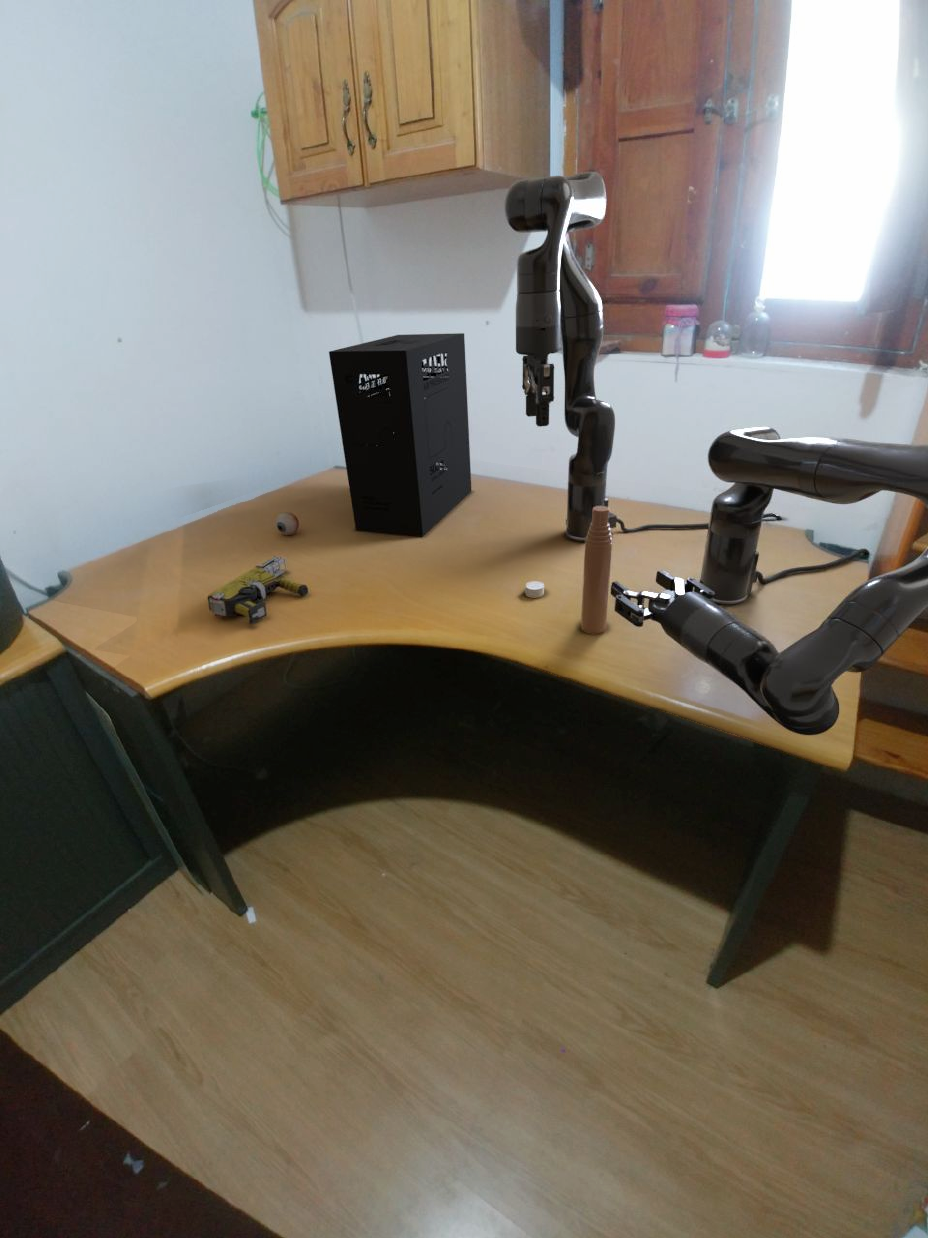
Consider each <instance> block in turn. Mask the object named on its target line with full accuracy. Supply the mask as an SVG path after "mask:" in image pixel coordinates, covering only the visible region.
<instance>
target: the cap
mask: <svg viewBox="0 0 928 1238" xmlns="http://www.w3.org/2000/svg"><path fill="white" fill-rule="evenodd" d="M525 595H526V596H527V597H529V598H533V599H535V598H537V599H538V598H541V597H543V596H544V595H545V584H544V583H543V582H542V581H536V580H535V581H534V580H533V581H529V582H527V583H526V584H525Z"/></svg>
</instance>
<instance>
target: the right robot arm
mask: <svg viewBox="0 0 928 1238" xmlns="http://www.w3.org/2000/svg"><path fill="white" fill-rule="evenodd" d="M707 463H708V466H709V469H710V471H711V472H712V474H713V475H714V476H715V478H717V479H719V480H720V481H723V482H725V483H729V484H730V483H733V485H731V486H730V487H729V488H728V489H726V490H725V491H723V492H721V493H719V494H717V495H716V497H714V498H713V500H712V504H711V508H710V515H709V521H708V523H709V527H707V535H706V540H705V546H704V552H703V559H702V564H701V570H700V575H699V578H698V579H699V580H697V579H696V578H695V577H691V576H690V577H687V578H686V580H684V579H683V578H681V577H674V576H673V575H672V574H670V573H668V572H666V571H664V570H662V569H661V570H657V571H656V575H655V582H656V584H657V585H658V586H660V587H662V588H663V589H665V590H663V591H660V592H650V591H646V590H641V591H640V592H636V591H632V590H630V589H629V588H627V587H626V586H625V585H623V584H622V583H620V581H618V580H615V581H612V582H611V585H610V595H611V596H612V597H614V600H615V601H614V612H615V613H617V614H618V615H620V616H621V617H622V618H623V619H625V620H626V621H628V622H629V623H630V624H631V625H633V626H635V627H637V628H641V627H643V626H644V622H645V621H648V620H651V621H653V622H657V623H658V624H659V625H660V626H661V628H662V630H663V631H664V633H665V634H666V635H667V636H668V637H669V638H670V639H672V640H673V641H674V642H676V643H677V644H678V645H680V646H681V647H682V648H684V649H685V651H688V653H690V654H691V655H692V656H694V657H695V658H696V659H698V660H700V661H701V662H704V663H705V664H707V665H709V666H710V667H711V668H712V669H714V670H715V671H716V672H718V673H720V674H721V676H723V677H725V678H726V679H727V680H729V682H732V683H733V684H734V685H736V686H738V687H739V688H740V689H741V690H742V691H743V692H744V693H745V694H746V695H747V696H748V697H749V698H750V699H751V700H752V701H753V702H754V703H755V704H756V705H758V707H760V709H761V710H763V711H764V712H765V713H766V714H767V715H768V716H769V717H770V718H771V719H772V720H774V721H775V722H776V723H777V724H778V725H780V726H781V727H783V728H784V729H786V730H788V731H789V732H792V733H794V734H798V735H801V736H817V735H822V734H824V733H826V732H827V731H830V729H832V728H833V727H834V726H835V724H836V722H837V721H838V718H839V716H840V703H839V699H838V697H837V695H836V693H835V690H834V688H833V686H832V685H833V684H834V683H835V681H836V680H837V679H838V678H840V676H842V675H843V674H844V673H846V672H848V673H854V674H855V673H858V674H859V673H863V672H865V671H868V670H869V669H870V668H872V667H873V665H875V664H876V663H877V662H878V661H879V659H881V658H882V656H884V655H885V653H887V651H888V650H889V649H890V648H891V647H892V646H893V645H894V643H895V642H897V640H898V639H899V638H900V637H901V636H902V635H903V634H904V632H905V631H906V630H907V629H908V628H909V627H910V626H911V625H912V624H913V623H914V622H915V621H916V620H917V619H918V618H919V617H920V616H921V615H922V614H924V613H925V611H926V610H927V609H928V546H927V547H926V548H925V549H924V551H923V552H922V553H921V554H920V555H919V556H918V557H917V558H915V559H914V560H913V561H912V562H909V563H907V564H906V565H904V566H902V567H899V568H897V569H895V570H891V571H888V572H885V573H883V574H880V575H878V576H877V575H876V576H874V577H873V578H871V579H868V580H867V581H865V582H862V583H861V584H860V585H858V586H857V587H856V588H854V589H853V590H852V591H851V592H850V593H848V595H846V596H845V598H844V599H842V600H841V602H839V604H838V605H837V606H836V607H835V609H834V610H833V611H832V612H830V614H829V615H828V616H827V617H826V618H825V620H823V622H822V623H821V624H820V625H819V626H818V628H816V629H815V630H813V631H811V632H809V633H808V634H805V635H804V636H802V637H801V638H800V639H798V640H797V641H795V642H794V643H792V644H791V645H789V646H788V647H786V648H785V649H783V650H782V651H781V652H779V651H778V649H776V646H775V645H774V644H772V642H771V641H770V640H769V639H767V638H766V637H765V636H763V635H762V634H761V633H759V632H757V631H756V630H754V629H753V628H751V627H749V626H748V625H746V624H745V623H743V622H742V620H740V619H739V618H738V617H736V616H735V615H734V614H733V613H731V612H730V611H728V610H726V609H725V608H724V607H722V606H720V605H738V604H742V603H744V602H745V601H746V600H747V599H748V597H750V596H751V594H752V591H753V585H754V584H755V583H757V581H758V583H760V584H768V583H771V582H774V581H776V580H778V579H780V578H782V577H784V576H787V575H789V574H793V573H794V574H795V573H800V572H810V571H819V570H825V569H828V568H833V567H835V566H838V565H840V564H843V563H844V562H847V561H849V560H852V559H855V558H856V557H859V556H861V554H864V555H866V556H869V555H871V552H870V551H869V550H868V549H867V548H860V549H858V550H855V551H854V552H852V553H850V554H848V555H845V556H843V557H841V558H838V559H836V560H833V561H830V562H827V563H823V564H817V565H816V564H815V565H808V566H798V567H791V568H787V569H784V570H782V571H779V572H777V573H776V574H774V575H772V576H771V577H768V578H764V576H763V573H762V572H760V571H759V570H757V567H758V561H759V558H760V557H759V556H760V553H759V551H758V550H757V547H758V542H759V538H760V535H761V534H760V533H761V528H762V523H763V520H764V518H763V515H764V514H765V511H766V509H767V508H768V506H769V505H770V504H771V501H772V497H773V494H774V490H778V491H781V492H786V493H789V494H793V495H798V496H802V497H805V498H809V499H812V500H816V501H821V502H825V503H830V504H835V505H851V504H856V503H858V502H862V501H863V500H866V499H869V498H871V497H872V496H874V495H876V494H878V493H880V492H882V491H883V492H884V491H885V492H886V491H887V492H892V493H899V494H903V495H907V496H910V497H914V498H915V499H917V500H920V501H921V502H922V503H923V504H924V506H925V508H926V510H927V511H928V444H907V443H905V444H904V443H892V442H891V443H890V442H875V441H866V440H859V439H854V438H853V439H852V438H843V437H833V436H812V437H811V436H810V437H796V438H795V437H794V438H786V439H782V438H781V436H780V434H779V433H778V431H777V430H776V429H775V428H773V427H770V426H755V427H745V428H737V429H732V430H728V431H725V432H723V433H721V434H719V435H718V436H717V437H715V439H714V440H713V441H712V443H711V444H710V446H709V448H708V451H707ZM632 599H635V600H637V601H636V603H635V602H633V601H632ZM645 599H646V600H648V605H647V608H646V607H645Z"/></svg>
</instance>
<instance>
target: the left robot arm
mask: <svg viewBox="0 0 928 1238" xmlns="http://www.w3.org/2000/svg"><path fill="white" fill-rule="evenodd" d="M506 192H507V193H506V194H505V197H504V202H503V211H504V217H505V221H506V223H507V225H508V227H510V228H511V230H512V231H514V233H515V232H516V233H517V234H530V233H532V234H533V233H545V232H547V234H546V237H545V239H544V241H543V242H542V244H541V245H540V246H538V247H536V248H532V249H529V250H526V251H523V252H522V253H520V254H519V255H518V257H517V260H516V261H517V262H516V302H515V352H516V353H517V354H518V355H521V356H522V385H521V388H522V390H523V393H524V396H525V415H526V416H527V417H529V418H531V417H535V425H536V427H539V428H540V427H548V426H549V424H550V404H551V403H552V402H554V401H555V364H554V363H549V355H550V354H556V353H558V352H559V351H560V345H561V353H562V366H563V375H564V405H563V406H564V410H563V412H564V424H565V426H566V429H567V431H568V432H569V433H570V434H571V435H572V436H573V437H576V438H578V439H577V448H576V453H574V454H572V455H570V456H569V458H568V468H567V469H568V473H567V501H566V502H567V503H566V519H565V526H566V527H565V536H566V537H567V538H568V539H570V540H572V541H576V542H583V543H585V540H586V536H587V533H588V531H589V527H590V523H591V522H592V514H593V512H592V510H593V507H595V506H606V507H608V508H609V498H607V497H606V493H607V477H608V465H609V461H610V459H611V458H612V454H613V448H614V439H615V430H616V414H615V411H614V409H613V407H612V405H610V404H609V403H608V402H606V401H604V400H600V399H597V396H596V388H595V387H596V386H595V367H596V363H597V359H598V356H599V353H600V350H601V347H602V344H603V339H604V312H603V301H602V298H601V295H600V293H599V291H598V289H597V288H596V287H595V285H594V284H593V282H592V281H591V280H590V278H589V277H588V275H587V274H586V273H585V271H584V270H583V269H582V267H581V265H580V263H579V261H578V260H577V257H576V256H575V253H574V250H573V247H572V243H571V239H570V233H575V232H579V231H584V230H589V229H592V228H595V227H598V226H599V225H601V223H602V222H603V220H604V218H605V215H606V211H607V190H606V184H605V181H604V179H603V176H602V175H601V173H599V172H598V171H585V172H580V173H577V174H572V175H568V176H563V175H551V176H544V177H543V176H541V177H535V178H524V179H519V180H516V181H515V182H514V183H512V184H511V185H510V187H509V188H508V190H507V191H506ZM543 393H545V394H543ZM773 513H774V512H769V513H764V515H763V519H765V518H775V519H777V520H778V521H783V520H784V519H783V517H782V516H780V515H779V516H776V515H775V514H776V513H775V514H773ZM608 522H609V524H610V525H609V527H610V530H611V529H614V528H617V523H618V524H619V525H620V529H621V531H622V532H625V533H636V532H641V531H644V530H648V529H699V528H708V527H709V522H706V523H705V522H703V523H682V524H667V523H665V524H663V523H662V524H659V523H658V524H657V523H656V524H655V523H654V524H653V523H652V524H645V525H641V526H639V527H635V528H632V529H631V528H630V529H629V528H626V526H625V522H624V521H623V519H620V518H618V515H616V514H614V513H612V512H611V511H609V518H608Z"/></svg>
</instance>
